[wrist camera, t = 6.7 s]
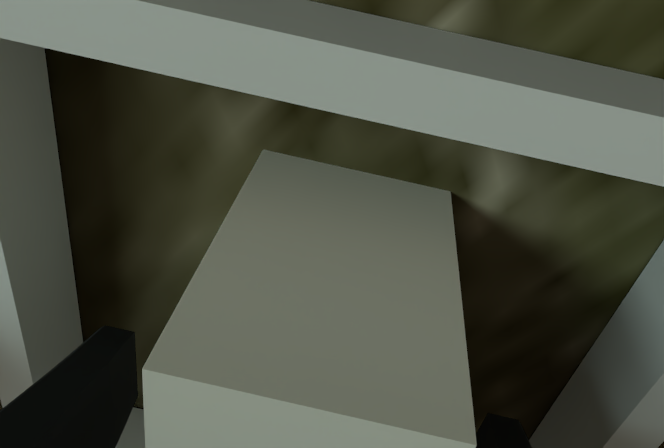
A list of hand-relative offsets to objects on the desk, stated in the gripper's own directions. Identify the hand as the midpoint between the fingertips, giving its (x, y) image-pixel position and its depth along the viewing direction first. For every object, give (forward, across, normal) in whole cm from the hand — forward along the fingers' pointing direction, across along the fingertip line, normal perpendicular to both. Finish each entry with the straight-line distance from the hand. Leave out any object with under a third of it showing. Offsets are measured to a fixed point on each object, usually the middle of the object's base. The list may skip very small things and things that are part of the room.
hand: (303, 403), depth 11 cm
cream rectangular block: (+3, 0, 0) cm, 3 cm away
